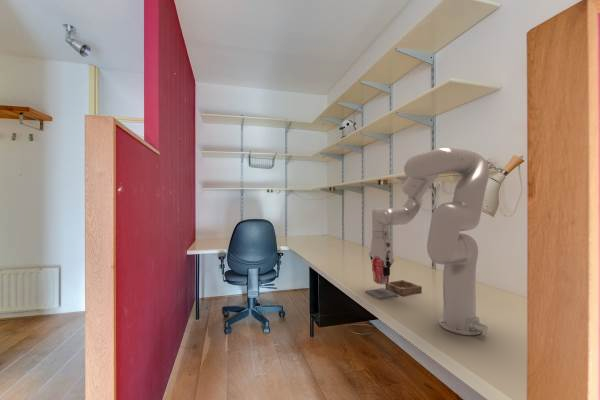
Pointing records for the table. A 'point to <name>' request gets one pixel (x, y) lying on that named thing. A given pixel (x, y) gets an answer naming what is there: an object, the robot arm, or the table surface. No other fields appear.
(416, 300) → the table surface
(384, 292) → the mat
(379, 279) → the soda can
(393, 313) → the table surface
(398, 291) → the brown wooden tray
